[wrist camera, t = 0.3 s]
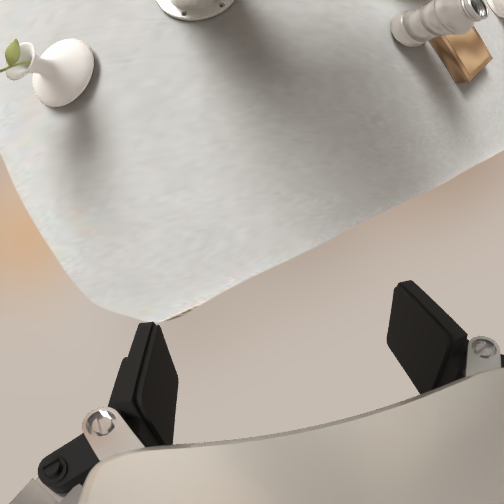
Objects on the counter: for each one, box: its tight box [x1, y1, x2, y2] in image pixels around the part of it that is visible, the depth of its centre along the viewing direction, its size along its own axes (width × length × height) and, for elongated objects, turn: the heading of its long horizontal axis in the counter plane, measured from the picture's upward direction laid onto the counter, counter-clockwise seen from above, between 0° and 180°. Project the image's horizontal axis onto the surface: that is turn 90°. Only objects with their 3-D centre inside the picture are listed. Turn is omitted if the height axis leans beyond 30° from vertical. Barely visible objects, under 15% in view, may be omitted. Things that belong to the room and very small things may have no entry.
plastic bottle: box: [391, 0, 488, 47], centre depth 28 cm, size 6×7×20 cm
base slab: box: [428, 26, 493, 83], centre depth 36 cm, size 11×11×4 cm
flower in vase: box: [0, 39, 94, 107], centre depth 24 cm, size 13×11×25 cm
